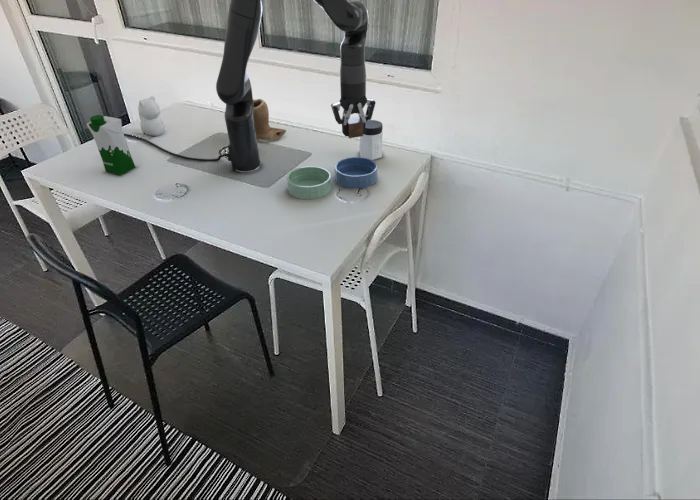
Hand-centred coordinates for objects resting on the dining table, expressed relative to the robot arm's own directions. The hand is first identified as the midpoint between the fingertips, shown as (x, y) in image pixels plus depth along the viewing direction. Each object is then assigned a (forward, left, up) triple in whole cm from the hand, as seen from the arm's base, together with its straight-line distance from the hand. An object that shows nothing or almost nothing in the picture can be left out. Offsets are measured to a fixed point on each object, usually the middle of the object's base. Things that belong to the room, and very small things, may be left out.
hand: (353, 134), depth 143 cm
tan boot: (-37, +35, -17) cm, 54 cm away
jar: (+6, +19, -17) cm, 26 cm away
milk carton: (-83, +7, -17) cm, 85 cm away
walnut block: (0, 0, 0) cm, 0 cm away
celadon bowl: (-14, -7, -16) cm, 23 cm away
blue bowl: (+1, 0, -16) cm, 16 cm away
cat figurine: (-84, +40, -17) cm, 95 cm away
